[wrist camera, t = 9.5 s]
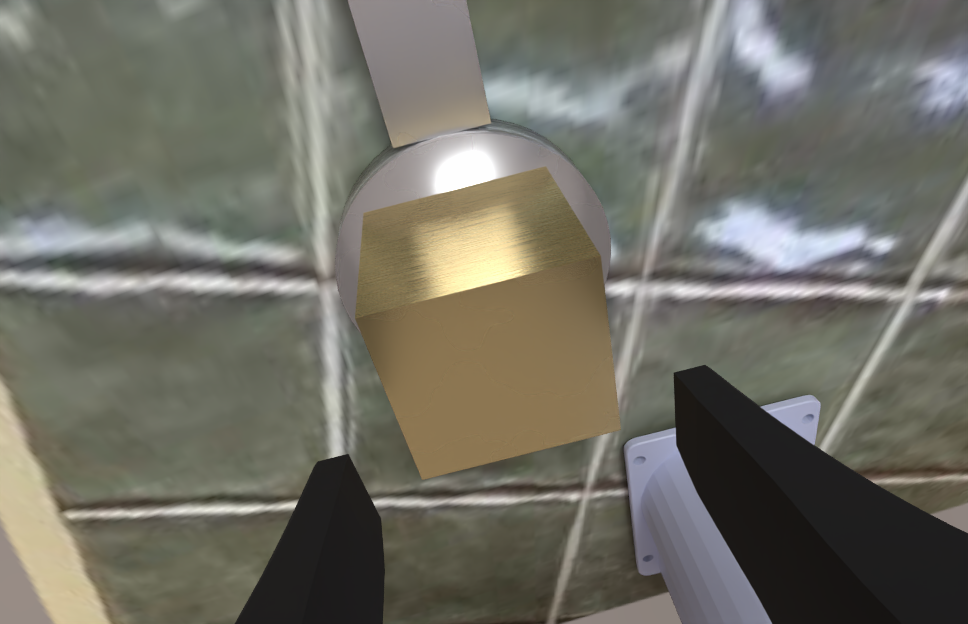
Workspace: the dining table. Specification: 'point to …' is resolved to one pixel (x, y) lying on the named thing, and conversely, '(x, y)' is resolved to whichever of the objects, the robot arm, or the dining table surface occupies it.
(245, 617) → the robot arm
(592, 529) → the dining table surface
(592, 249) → the brushed tan cube
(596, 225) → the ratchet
